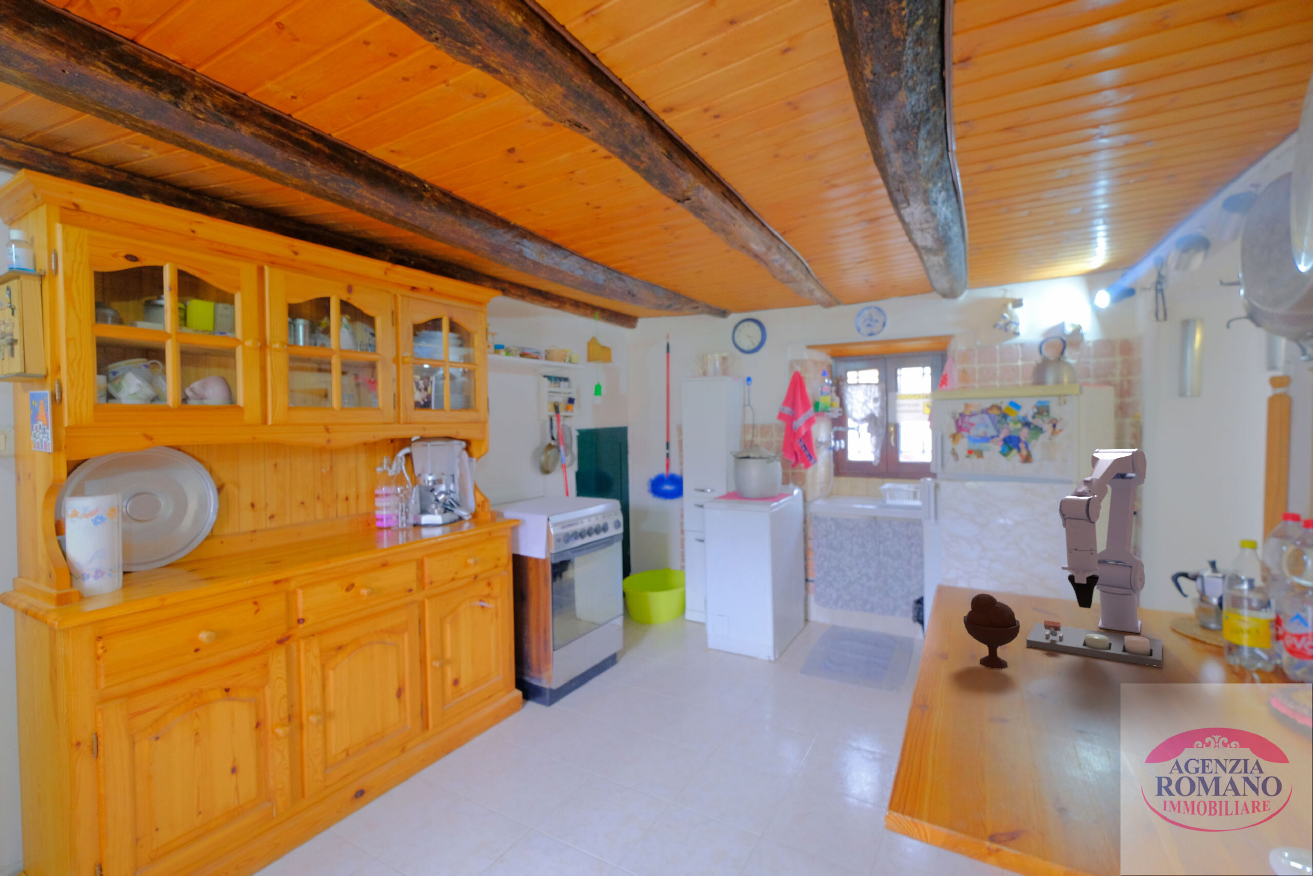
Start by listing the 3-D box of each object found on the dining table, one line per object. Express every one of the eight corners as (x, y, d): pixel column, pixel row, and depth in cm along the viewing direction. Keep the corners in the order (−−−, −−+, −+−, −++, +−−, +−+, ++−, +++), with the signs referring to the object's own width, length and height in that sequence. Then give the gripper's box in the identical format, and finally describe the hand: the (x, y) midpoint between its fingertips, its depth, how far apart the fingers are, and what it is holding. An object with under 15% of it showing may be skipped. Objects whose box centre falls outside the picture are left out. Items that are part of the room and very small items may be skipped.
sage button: (1086, 644, 135) (1086, 632, 135) (1109, 648, 133) (1109, 636, 133) (1084, 650, 132) (1084, 638, 132) (1108, 654, 130) (1107, 641, 130)
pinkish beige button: (1125, 647, 131) (1124, 634, 131) (1150, 650, 128) (1149, 637, 128) (1124, 653, 128) (1123, 640, 128) (1149, 656, 125) (1149, 643, 125)
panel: (1036, 628, 149) (1035, 618, 149) (1162, 646, 133) (1161, 635, 133) (1026, 645, 138) (1026, 635, 138) (1162, 667, 122) (1161, 655, 122)
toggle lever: (1046, 630, 139) (1044, 620, 137) (1061, 632, 137) (1059, 622, 135) (1046, 635, 138) (1043, 625, 136) (1061, 637, 136) (1059, 627, 134)
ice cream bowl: (966, 670, 127) (961, 600, 127) (966, 652, 137) (962, 587, 136) (1024, 677, 122) (1019, 604, 122) (1019, 657, 132) (1015, 590, 131)
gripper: (1063, 541, 144) (1067, 596, 144) (1057, 553, 133) (1060, 613, 133) (1100, 543, 140) (1103, 600, 140) (1095, 555, 129) (1099, 618, 129)
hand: (1085, 607), depth 136 cm, fingers closed
